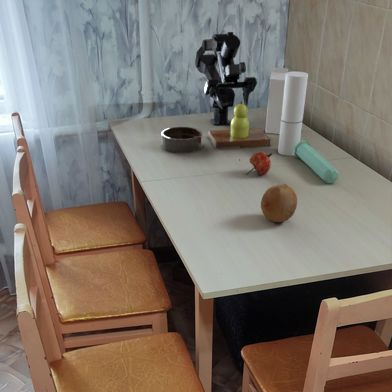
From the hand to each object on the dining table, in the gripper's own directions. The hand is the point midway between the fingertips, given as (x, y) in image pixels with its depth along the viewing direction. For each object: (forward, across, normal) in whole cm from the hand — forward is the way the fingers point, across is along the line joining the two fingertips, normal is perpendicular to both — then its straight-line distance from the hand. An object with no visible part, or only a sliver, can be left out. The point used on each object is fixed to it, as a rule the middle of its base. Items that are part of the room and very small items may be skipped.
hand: (234, 107), depth 197 cm
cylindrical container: (+22, +14, -8) cm, 27 cm away
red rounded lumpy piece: (+34, -3, -20) cm, 39 cm away
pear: (+10, 0, 0) cm, 10 cm away
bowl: (+13, -22, +2) cm, 25 cm away
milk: (+6, +17, +8) cm, 20 cm away
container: (+35, +16, -21) cm, 43 cm away
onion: (+57, -9, -43) cm, 72 cm away
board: (+12, 0, +2) cm, 12 cm away
